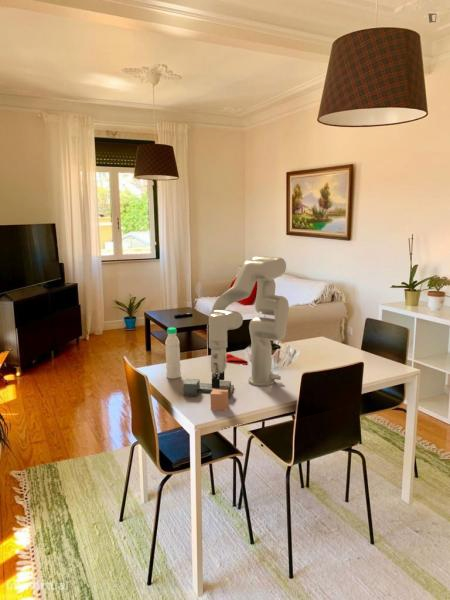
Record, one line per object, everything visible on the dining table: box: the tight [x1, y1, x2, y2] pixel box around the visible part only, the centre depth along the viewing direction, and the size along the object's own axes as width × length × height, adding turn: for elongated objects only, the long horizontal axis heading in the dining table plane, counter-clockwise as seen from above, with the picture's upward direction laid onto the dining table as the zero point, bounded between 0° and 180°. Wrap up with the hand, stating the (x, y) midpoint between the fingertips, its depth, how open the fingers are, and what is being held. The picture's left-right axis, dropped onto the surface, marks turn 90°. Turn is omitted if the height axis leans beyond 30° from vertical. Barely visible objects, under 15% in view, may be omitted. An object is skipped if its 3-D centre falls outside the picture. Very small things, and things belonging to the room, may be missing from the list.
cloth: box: [226, 353, 249, 366], centre depth 252 cm, size 26×14×2 cm, turn 22°
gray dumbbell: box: [181, 378, 235, 400], centre depth 206 cm, size 22×13×6 cm, turn 79°
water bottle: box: [164, 327, 182, 380], centre depth 225 cm, size 7×7×25 cm
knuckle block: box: [209, 389, 229, 411], centre depth 190 cm, size 6×5×7 cm
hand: (218, 383), depth 188 cm, fingers open, 9 cm apart
